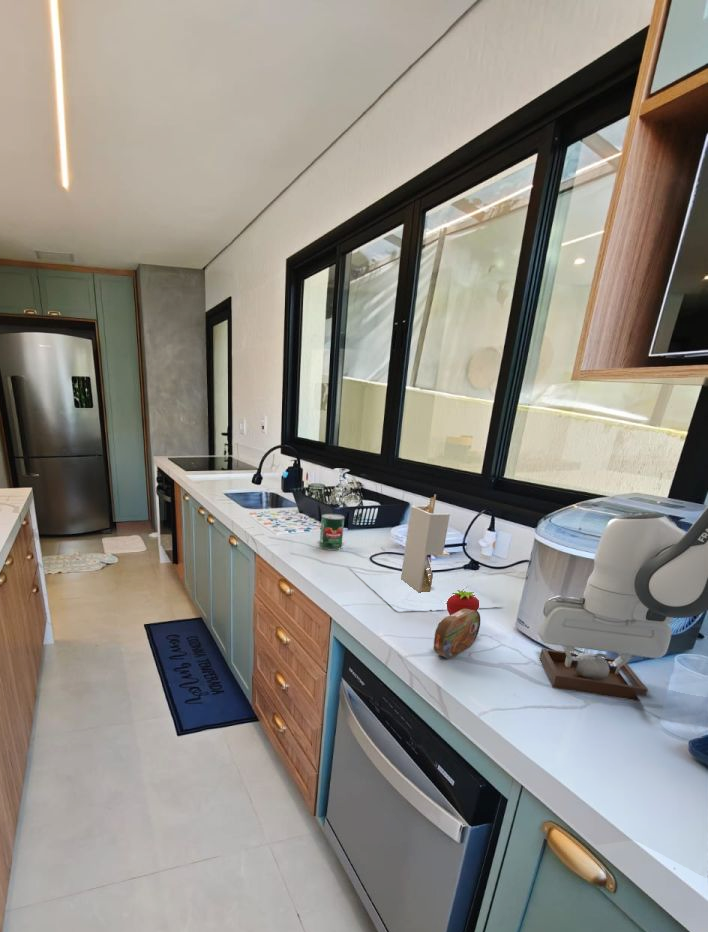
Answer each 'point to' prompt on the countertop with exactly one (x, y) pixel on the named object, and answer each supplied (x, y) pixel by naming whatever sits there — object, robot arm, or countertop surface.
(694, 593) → the robot arm
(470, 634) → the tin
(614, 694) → the tray
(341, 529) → the canned tomato
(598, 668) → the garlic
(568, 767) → the countertop surface
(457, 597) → the strawberry
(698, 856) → the countertop surface
